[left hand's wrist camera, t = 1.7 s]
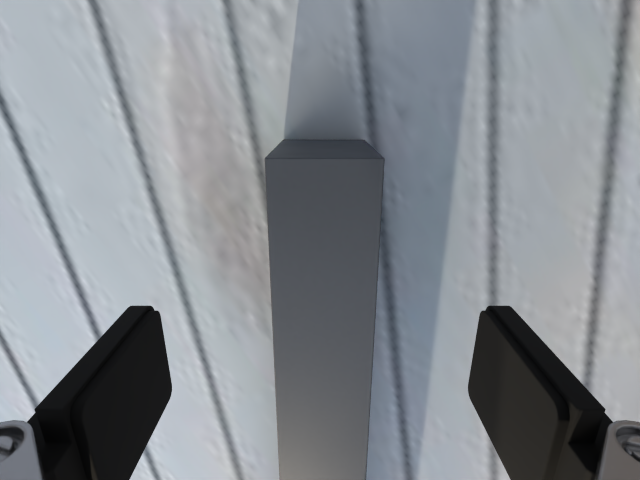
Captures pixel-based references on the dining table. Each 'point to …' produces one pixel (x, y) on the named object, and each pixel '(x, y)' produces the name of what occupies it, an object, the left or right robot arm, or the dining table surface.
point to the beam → (323, 301)
